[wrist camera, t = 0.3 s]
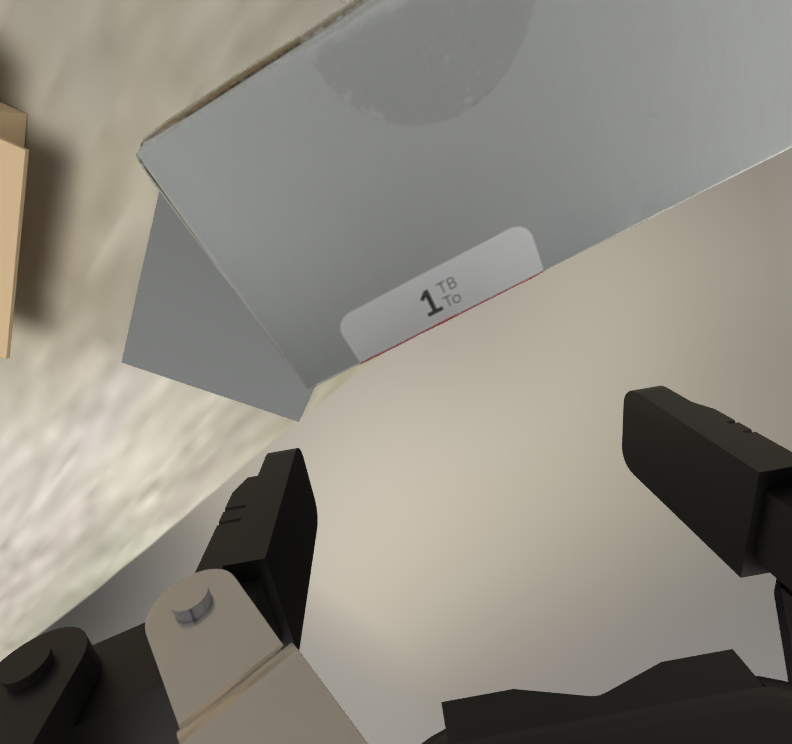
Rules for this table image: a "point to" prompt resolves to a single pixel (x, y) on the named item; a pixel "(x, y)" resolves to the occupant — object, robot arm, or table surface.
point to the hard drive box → (460, 153)
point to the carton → (10, 213)
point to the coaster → (204, 326)
